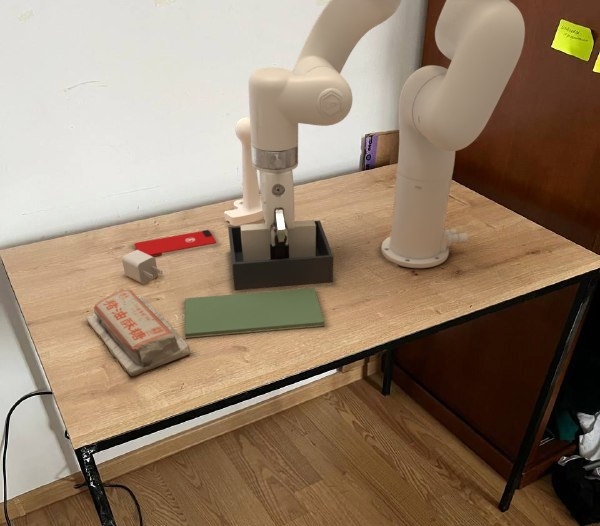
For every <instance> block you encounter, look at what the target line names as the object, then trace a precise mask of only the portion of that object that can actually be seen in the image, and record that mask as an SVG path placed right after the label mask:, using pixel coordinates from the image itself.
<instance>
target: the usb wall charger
mask: <svg viewBox="0 0 600 526" xmlns="http://www.w3.org/2000/svg"><path fill="white" fill-rule="evenodd" d="M121 263H122V267H123V271H124V275H125V276H127V277H128V278H130V279H133V280H134V281H137V282H138V283H140V284H144V285H145V284H146V283H148V282H150V281H151V280H154V279H155V278H157V277H158V275H163V271H162V269H159V268H158V265H157V259H156V258H155V256H150V255H148V254H146V253H143V252H141V251H139V250H136V249H135V250H133V251H131V252H129V253H127V254H124V255H123V256H122V257H121Z"/></svg>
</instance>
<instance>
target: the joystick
mask: <svg viewBox="0 0 600 526" xmlns="http://www.w3.org/2000/svg"><path fill="white" fill-rule="evenodd" d="M234 129H235V130H234V131H235V136H236V137H237V139H238V140H239V141H240V143H241V163H242V165H241V168H242V199H237V200H235V201H233V209H229V210H225V211H224V212H223V214H224V221H225V222H229V224H230V225H231V226H240V225H248V224H252V223H254V222H259V221H260V220H264V215H263V210H262V203H261V194H260V185H259V177H258V170H257V169H255V168H254V167H253V166H252V154H251V132H250V116H249V117H248V116H247V117H246V116H244V117H242V118H239V120H238V121H237V122H236V125H235V128H234Z"/></svg>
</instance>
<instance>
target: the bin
mask: <svg viewBox="0 0 600 526" xmlns="http://www.w3.org/2000/svg"><path fill="white" fill-rule="evenodd" d="M314 222H315V225H316V256H312V257H299V258H286V259H273V260H260V261H247V262H243V252H242V239H241V227H240V225H237V226H233V225H231V226H228V227H227V230H228V239H229V240H228V241H229V252H230V259H231V268H232V278H233V287H234V291H242V290H243V291H244V290H245V291H246V290H256V289H257V290H258V289H271V288H280V287H293V286H308V285H315V284H316V285H317V284H318V285H319V284H332V283H333V281H334V278H333V277H334V254H333V252H332V249H331V246H330V244H329V242H328V241H329V240H328V238H327V235H326V233H325V230H324V228H323V225H322V222H321V220H319V219H318V220H314Z"/></svg>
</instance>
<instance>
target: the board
mask: <svg viewBox="0 0 600 526" xmlns="http://www.w3.org/2000/svg"><path fill="white" fill-rule="evenodd" d="M314 221H315V220H314V219H307V220H295V228H294V229H293V230H291V229H288V227H287V233H288V243H289V258H299V257H312V256H316V225H315V222H314ZM239 226H240V227H241V239H242V252H243V262H247V261H260V260H270V244H272V242H271V231H269V230H268V229H267V228H266V224H265V222H263V223H248V224H242V225H239ZM273 227H277V225H276V224H273ZM274 235H275V236H276V235H277V232H274Z"/></svg>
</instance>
